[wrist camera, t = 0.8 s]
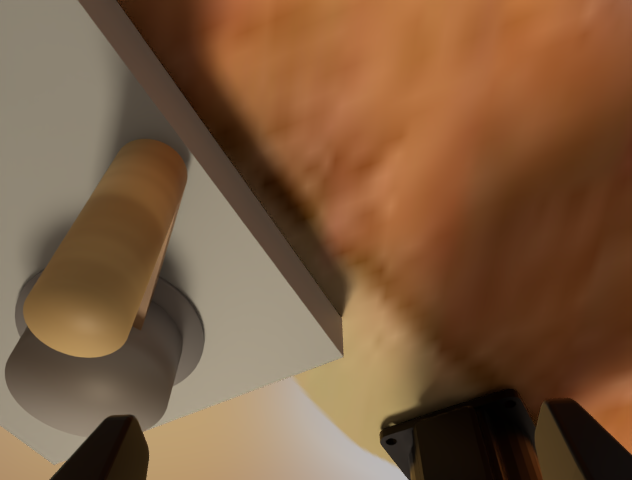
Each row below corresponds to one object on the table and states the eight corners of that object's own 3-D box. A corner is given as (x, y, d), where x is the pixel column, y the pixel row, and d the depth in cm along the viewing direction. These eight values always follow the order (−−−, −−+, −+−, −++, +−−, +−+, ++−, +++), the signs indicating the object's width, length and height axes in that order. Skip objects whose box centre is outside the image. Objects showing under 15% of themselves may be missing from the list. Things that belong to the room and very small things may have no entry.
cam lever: (165, 400, 22) (119, 567, 17) (27, 367, 21) (-64, 533, 16) (247, 171, 16) (215, 321, 11) (64, 109, 15) (-61, 243, 10)
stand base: (341, 318, 22) (344, 378, 20) (70, 425, 26) (45, 486, 24) (47, -97, 14) (-9, -82, 12) (-280, 147, 18) (-372, 196, 16)
